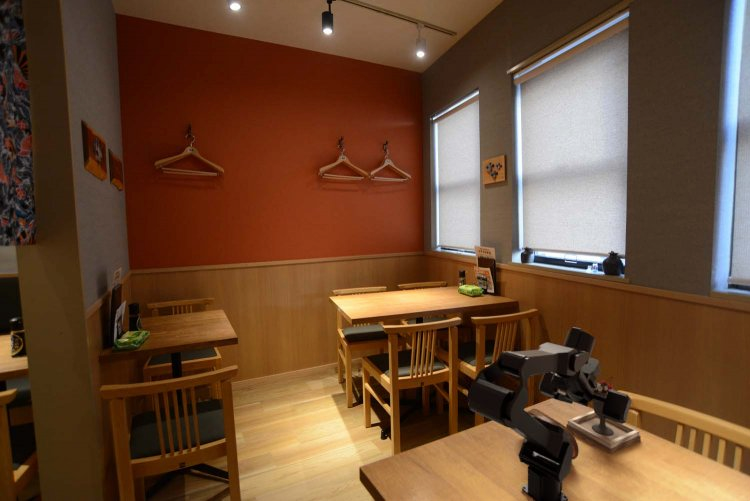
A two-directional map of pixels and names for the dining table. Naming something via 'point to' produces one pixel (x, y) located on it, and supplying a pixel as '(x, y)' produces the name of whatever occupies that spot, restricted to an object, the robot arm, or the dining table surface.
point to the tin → (545, 417)
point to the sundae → (598, 409)
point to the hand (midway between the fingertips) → (591, 409)
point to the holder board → (611, 443)
